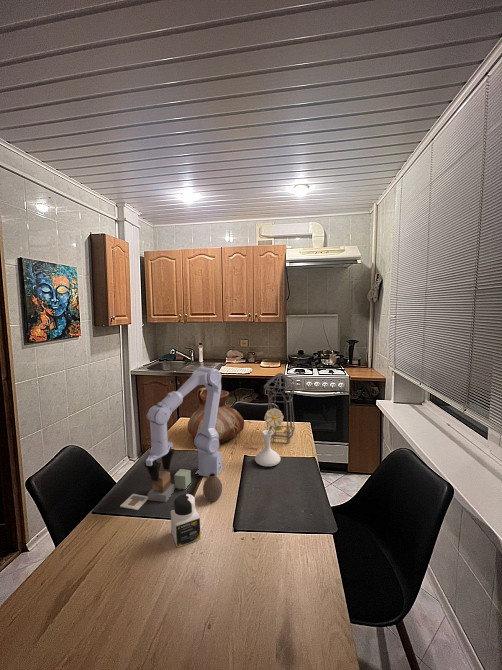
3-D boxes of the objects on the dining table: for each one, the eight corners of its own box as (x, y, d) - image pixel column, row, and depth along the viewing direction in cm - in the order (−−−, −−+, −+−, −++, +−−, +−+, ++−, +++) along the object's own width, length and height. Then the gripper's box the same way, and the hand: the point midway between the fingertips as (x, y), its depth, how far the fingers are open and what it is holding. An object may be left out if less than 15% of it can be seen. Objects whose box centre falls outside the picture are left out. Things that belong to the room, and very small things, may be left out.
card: (149, 497, 110) (149, 496, 110) (137, 510, 103) (137, 508, 103) (133, 494, 111) (132, 493, 111) (120, 506, 105) (120, 505, 105)
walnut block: (170, 486, 112) (170, 472, 112) (163, 493, 108) (162, 478, 108) (160, 483, 114) (159, 469, 113) (152, 490, 110) (152, 476, 109)
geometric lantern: (264, 445, 150) (262, 375, 148) (269, 433, 165) (267, 370, 163) (295, 447, 147) (294, 376, 144) (298, 434, 162) (297, 370, 160)
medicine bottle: (176, 548, 86) (175, 509, 85) (171, 532, 92) (169, 495, 91) (200, 539, 89) (199, 501, 88) (193, 524, 96) (192, 488, 95)
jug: (250, 427, 172) (249, 384, 170) (235, 452, 143) (234, 401, 140) (201, 423, 179) (199, 382, 176) (177, 446, 150) (175, 397, 147)
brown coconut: (225, 494, 111) (225, 472, 110) (216, 506, 104) (215, 482, 104) (209, 490, 114) (209, 468, 113) (199, 500, 107) (198, 477, 107)
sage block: (191, 483, 118) (190, 470, 118) (185, 490, 114) (185, 476, 113) (180, 482, 119) (180, 468, 119) (175, 488, 115) (174, 475, 114)
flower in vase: (251, 466, 130) (250, 410, 128) (260, 454, 141) (259, 402, 138) (280, 472, 125) (279, 413, 123) (287, 459, 136) (287, 405, 133)
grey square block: (174, 491, 114) (174, 483, 114) (166, 503, 107) (165, 495, 107) (157, 489, 115) (157, 482, 115) (148, 501, 108) (147, 493, 108)
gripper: (160, 430, 117) (162, 463, 118) (137, 446, 103) (139, 484, 104) (176, 431, 115) (178, 465, 117) (155, 449, 101) (157, 487, 103)
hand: (161, 474), depth 110 cm, fingers open, 7 cm apart
